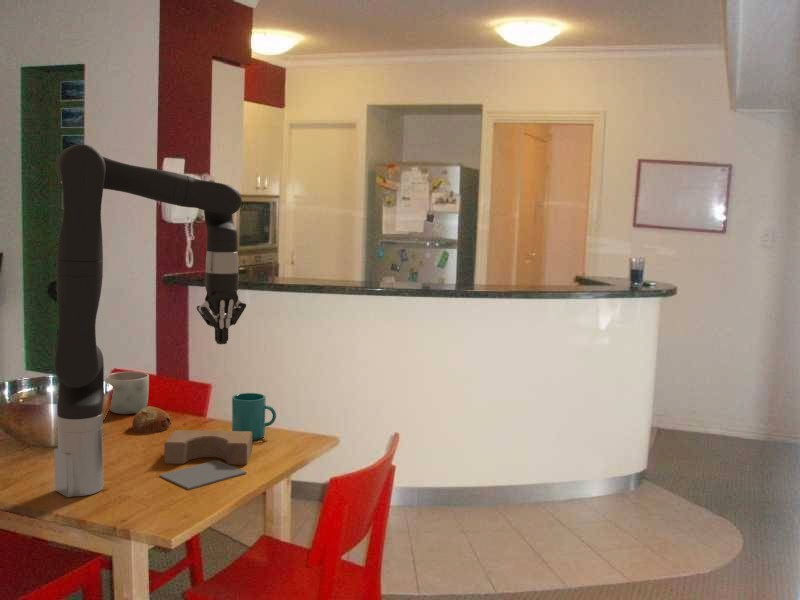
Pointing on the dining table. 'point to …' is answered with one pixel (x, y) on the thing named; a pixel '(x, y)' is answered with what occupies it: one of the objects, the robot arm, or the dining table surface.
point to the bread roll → (151, 420)
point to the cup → (250, 414)
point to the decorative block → (208, 446)
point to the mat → (202, 474)
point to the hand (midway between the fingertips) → (221, 343)
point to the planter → (128, 391)
